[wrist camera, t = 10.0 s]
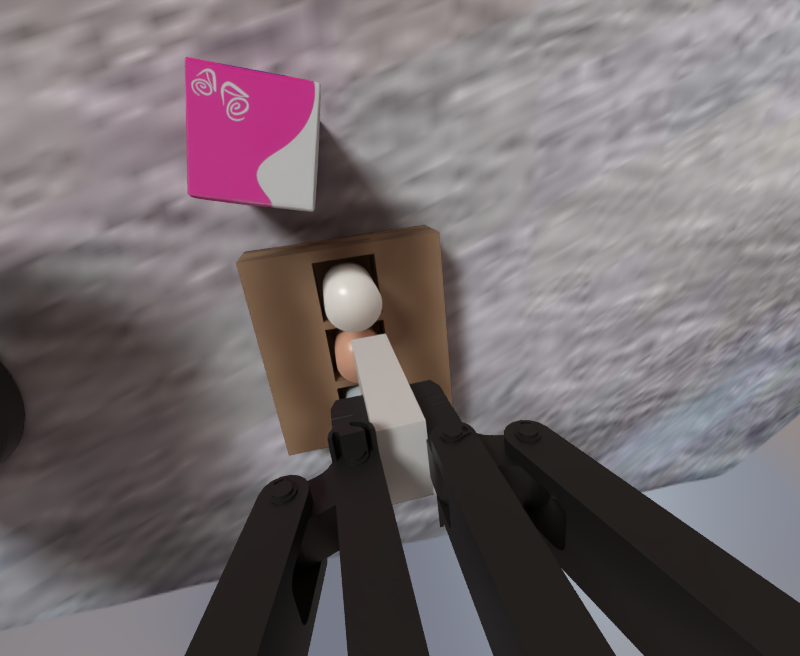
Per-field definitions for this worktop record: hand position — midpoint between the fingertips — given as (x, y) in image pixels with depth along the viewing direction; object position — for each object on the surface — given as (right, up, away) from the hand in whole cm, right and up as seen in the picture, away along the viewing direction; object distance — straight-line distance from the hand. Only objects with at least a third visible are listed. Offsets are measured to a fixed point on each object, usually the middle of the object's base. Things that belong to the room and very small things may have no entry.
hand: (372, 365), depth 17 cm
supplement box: (-8, +14, +11) cm, 19 cm away
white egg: (-3, +4, +11) cm, 13 cm away
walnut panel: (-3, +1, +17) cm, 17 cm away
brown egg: (-2, +1, +15) cm, 16 cm away
